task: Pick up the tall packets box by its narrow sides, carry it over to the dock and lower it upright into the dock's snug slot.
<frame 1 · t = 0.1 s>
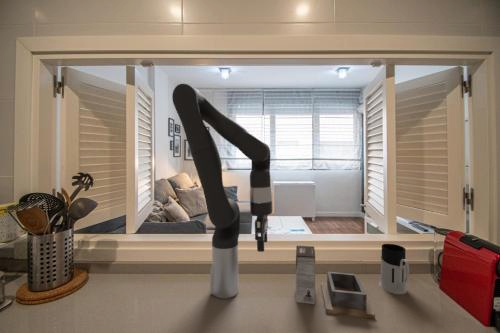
hand: (262, 246, 82), 17 cm above the countertop, tool pointing down, fingers open, 8 cm apart
glass holder: (396, 292, 85), on the countertop
dock: (344, 300, 80), on the countertop
coffee box: (305, 296, 82), on the countertop
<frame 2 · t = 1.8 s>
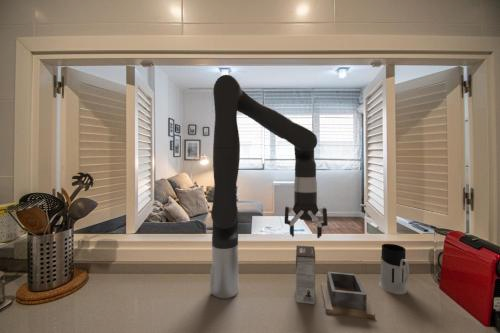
hand: (305, 236, 82), 21 cm above the countertop, tool pointing down, fingers open, 8 cm apart
nothing on the countertop moved.
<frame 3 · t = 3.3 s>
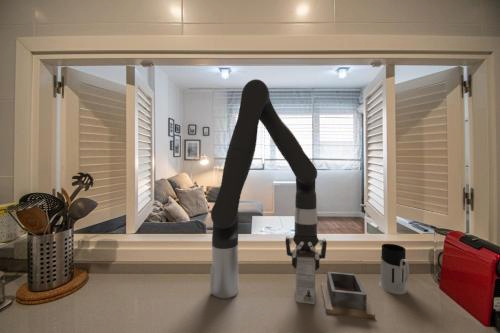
hand: (305, 268, 82), 10 cm above the countertop, tool pointing down, fingers closed on coffee box, 6 cm apart
coffee box: (305, 296, 82), on the countertop, touching gripper
everything else where it was.
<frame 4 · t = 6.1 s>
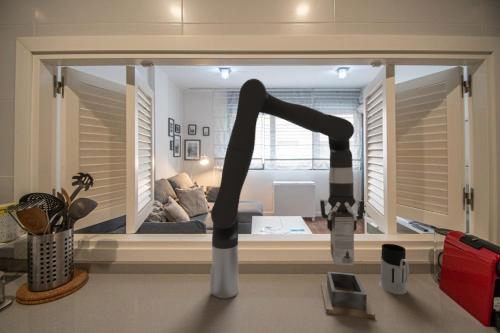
hand: (341, 230, 79), 24 cm above the countertop, tool pointing down, fingers closed on coffee box, 6 cm apart
coffee box: (341, 259, 80), point 14 cm above the countertop, touching gripper
everything else where it was.
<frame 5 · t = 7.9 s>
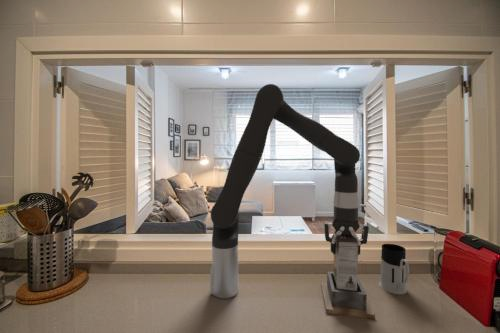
hand: (345, 254, 79), 16 cm above the countertop, tool pointing down, fingers closed on coffee box, 6 cm apart
coffee box: (344, 283, 80), point 6 cm above the countertop, touching gripper
everything else where it was.
when the fingers open (12 cm above the countertop, at t = 9.3 s): coffee box drops 1 cm, resting on dock.
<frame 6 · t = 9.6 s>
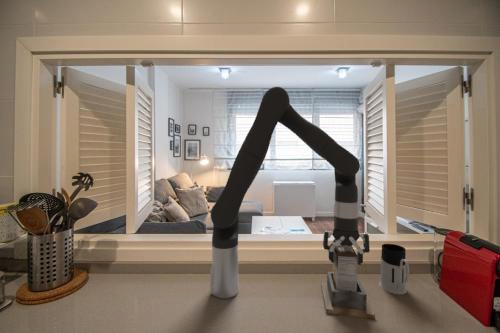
hand: (345, 262, 79), 13 cm above the countertop, tool pointing down, fingers open, 8 cm apart
coffee box: (344, 296, 80), point 1 cm above the countertop, touching dock
everything else where it was.
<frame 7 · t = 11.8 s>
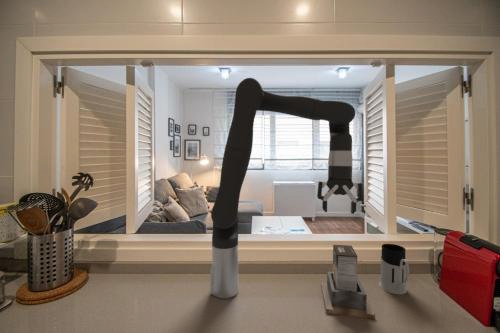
hand: (338, 212, 80), 29 cm above the countertop, tool pointing down, fingers open, 8 cm apart
nothing on the countertop moved.
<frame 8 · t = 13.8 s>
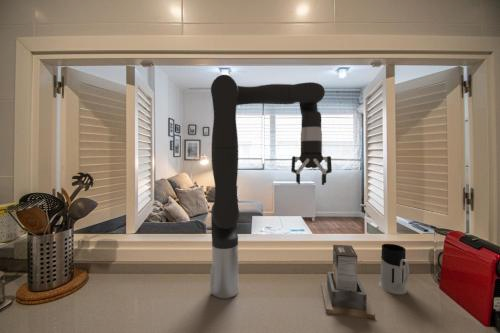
hand: (310, 184, 87), 38 cm above the countertop, tool pointing down, fingers open, 8 cm apart
nothing on the countertop moved.
at the end: coffee box 0.3 cm off-centre on the dock, point 1.0 cm above the dock's base; coffee box tilted 0°; the gripper is holding nothing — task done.
